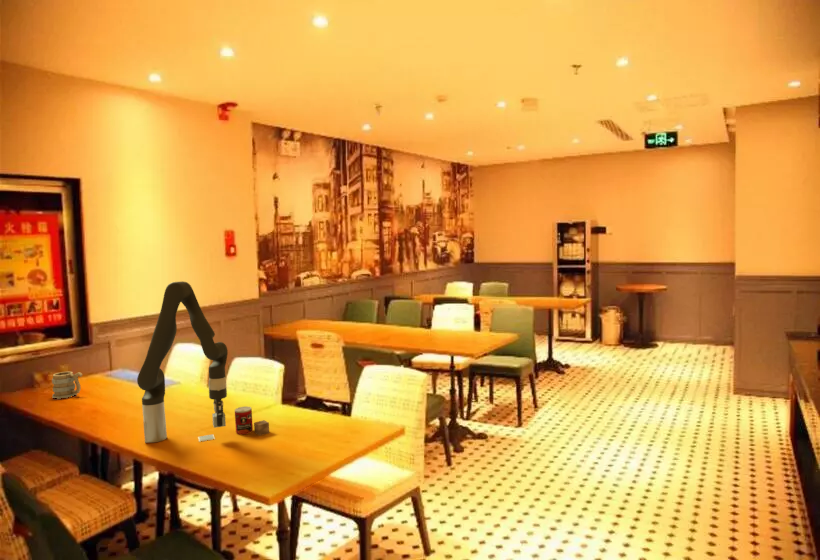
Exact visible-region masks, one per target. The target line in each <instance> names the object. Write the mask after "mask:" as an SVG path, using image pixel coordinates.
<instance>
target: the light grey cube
mask: <svg viewBox="0 0 820 560" xmlns="http://www.w3.org/2000/svg"><path fill="white" fill-rule="evenodd" d="M218 415H221V413H219V414H218ZM216 417H217V415H216V413H215V412H214V413H212V426H213V428H222V427H226V426H227V424H226V414H225V412H224V411H223V418H222V426H219V427H218V426H217V418H216Z"/></svg>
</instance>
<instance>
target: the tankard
mask: <svg viewBox="0 0 820 560" xmlns="http://www.w3.org/2000/svg"><path fill="white" fill-rule="evenodd" d="M79 377H80V378H82V377H83V373H82V372H80V371H79V372H76V373H75V374H74V372H73V371H61V372H56V373H53V374H52V379H51V384H52V385H53V386H52V392H54V393H53V394H52V396H51V397H52V398H57V399H56V400H62V399H61V398H66V399H69V398H68V397H71V396H74V395H76V396H77V395H78V394H80V391H81V384H80V381H79ZM74 397H75V396H74ZM71 398H72V397H71Z"/></svg>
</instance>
